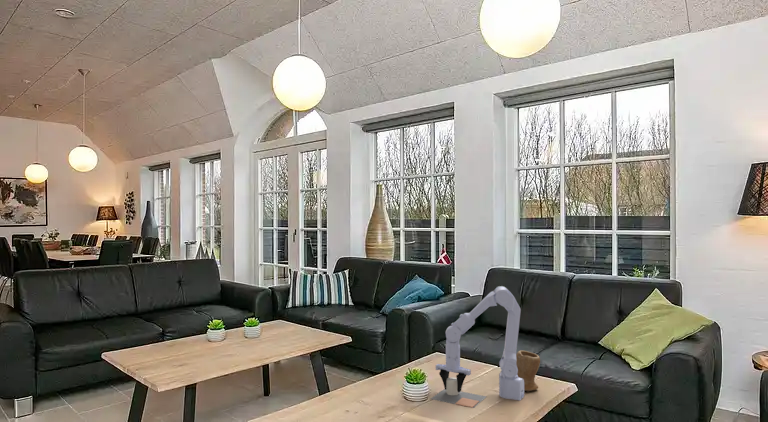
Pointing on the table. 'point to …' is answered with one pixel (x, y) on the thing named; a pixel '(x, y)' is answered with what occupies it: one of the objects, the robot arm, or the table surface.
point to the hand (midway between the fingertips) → (452, 390)
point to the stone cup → (527, 368)
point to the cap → (451, 386)
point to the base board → (457, 397)
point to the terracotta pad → (467, 402)
